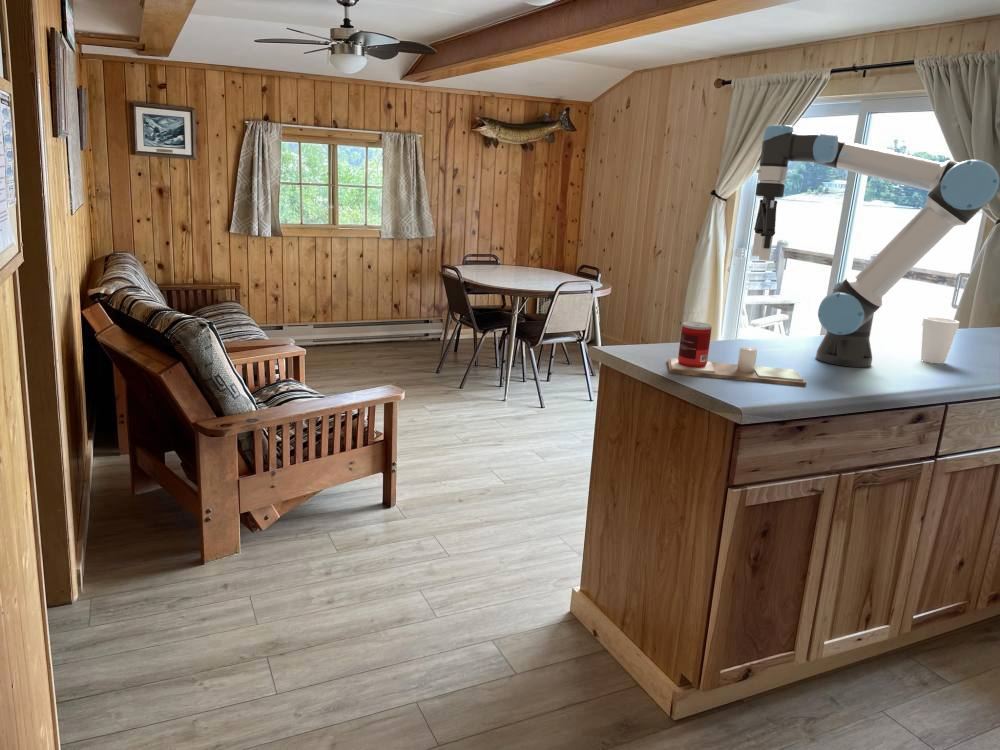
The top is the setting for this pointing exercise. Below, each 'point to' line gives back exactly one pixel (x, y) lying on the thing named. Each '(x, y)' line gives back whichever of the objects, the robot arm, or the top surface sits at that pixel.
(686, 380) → the top surface
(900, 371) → the top surface
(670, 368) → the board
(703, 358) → the canned food
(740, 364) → the ceramic post
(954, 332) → the foam cup
